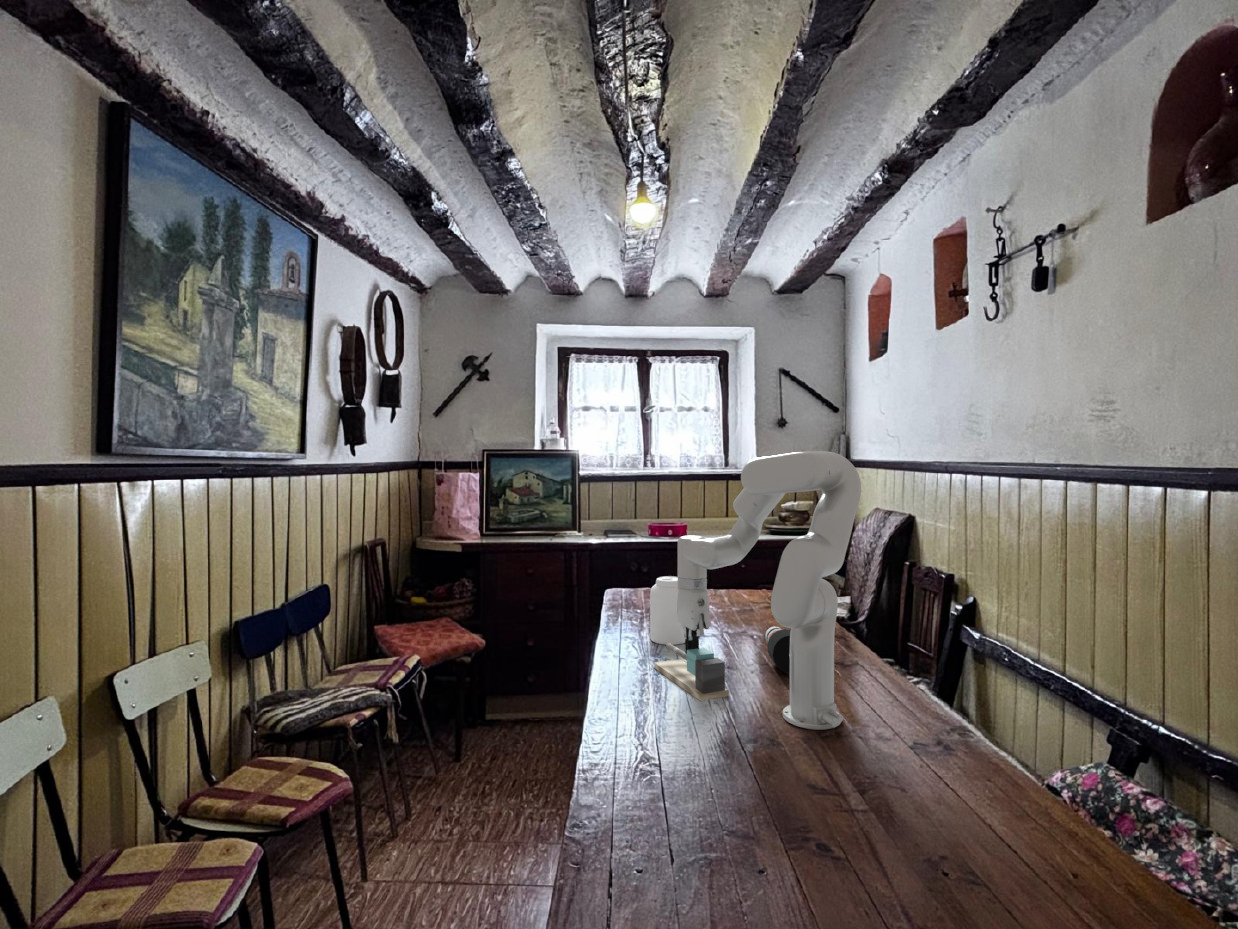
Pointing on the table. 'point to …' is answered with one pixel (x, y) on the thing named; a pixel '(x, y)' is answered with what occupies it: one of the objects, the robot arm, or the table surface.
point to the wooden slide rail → (696, 675)
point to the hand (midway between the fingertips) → (692, 654)
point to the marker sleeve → (697, 657)
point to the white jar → (665, 612)
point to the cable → (779, 647)
